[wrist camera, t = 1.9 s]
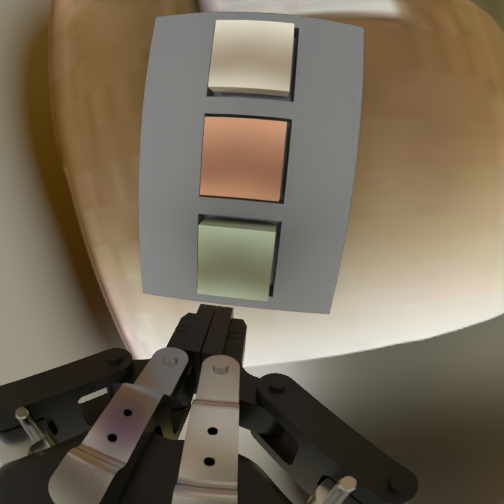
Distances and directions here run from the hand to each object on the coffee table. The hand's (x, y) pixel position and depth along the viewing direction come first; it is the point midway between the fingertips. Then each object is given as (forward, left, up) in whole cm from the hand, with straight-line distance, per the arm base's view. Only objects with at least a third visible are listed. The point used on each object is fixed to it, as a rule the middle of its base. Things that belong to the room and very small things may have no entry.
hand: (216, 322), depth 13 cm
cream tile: (-14, 0, -9) cm, 17 cm away
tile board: (-7, 0, -11) cm, 13 cm away
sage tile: (0, 0, -9) cm, 9 cm away
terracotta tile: (-7, 0, -9) cm, 11 cm away
